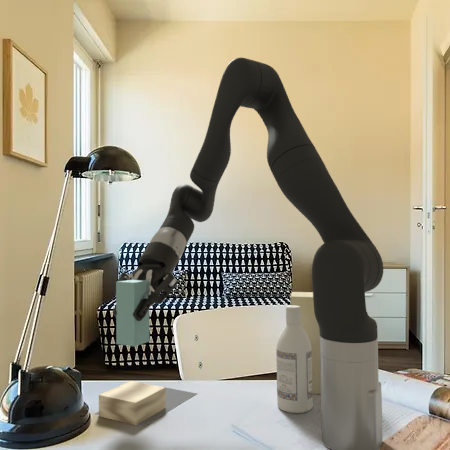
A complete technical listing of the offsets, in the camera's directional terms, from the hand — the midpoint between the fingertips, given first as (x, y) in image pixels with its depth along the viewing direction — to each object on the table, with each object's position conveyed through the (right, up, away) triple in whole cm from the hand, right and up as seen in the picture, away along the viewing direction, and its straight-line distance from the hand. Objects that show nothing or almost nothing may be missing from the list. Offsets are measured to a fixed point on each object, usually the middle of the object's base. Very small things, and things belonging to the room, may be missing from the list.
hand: (126, 317), depth 82 cm
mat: (+3, -19, +5) cm, 20 cm away
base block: (+1, -19, +1) cm, 19 cm away
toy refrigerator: (+38, -19, +14) cm, 44 cm away
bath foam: (+33, -19, +3) cm, 38 cm away
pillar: (+1, -5, +1) cm, 6 cm away
